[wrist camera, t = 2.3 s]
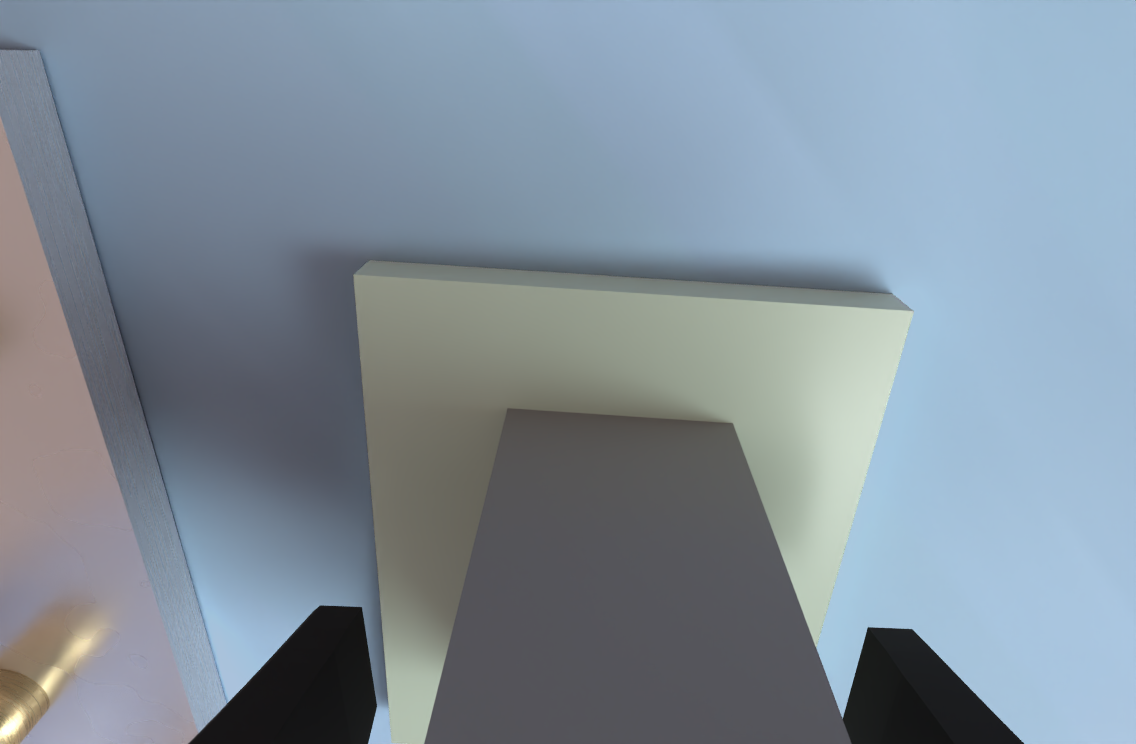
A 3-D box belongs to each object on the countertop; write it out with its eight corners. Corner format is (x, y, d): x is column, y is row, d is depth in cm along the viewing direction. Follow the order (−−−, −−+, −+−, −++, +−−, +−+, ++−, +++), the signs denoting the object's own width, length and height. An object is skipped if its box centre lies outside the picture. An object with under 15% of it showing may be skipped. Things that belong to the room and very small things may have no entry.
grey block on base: (769, 726, 15) (898, 1231, 8) (404, 700, 15) (262, 1180, 9) (886, 288, 11) (1324, 644, 4) (374, 255, 11) (45, 555, 4)
